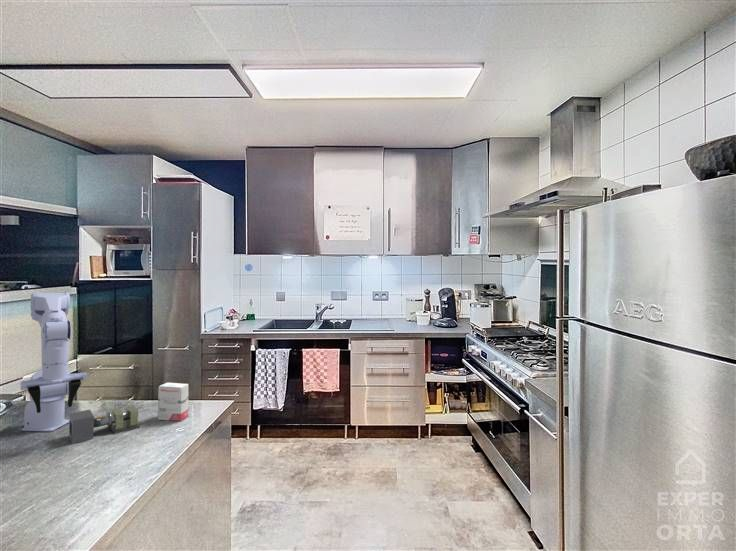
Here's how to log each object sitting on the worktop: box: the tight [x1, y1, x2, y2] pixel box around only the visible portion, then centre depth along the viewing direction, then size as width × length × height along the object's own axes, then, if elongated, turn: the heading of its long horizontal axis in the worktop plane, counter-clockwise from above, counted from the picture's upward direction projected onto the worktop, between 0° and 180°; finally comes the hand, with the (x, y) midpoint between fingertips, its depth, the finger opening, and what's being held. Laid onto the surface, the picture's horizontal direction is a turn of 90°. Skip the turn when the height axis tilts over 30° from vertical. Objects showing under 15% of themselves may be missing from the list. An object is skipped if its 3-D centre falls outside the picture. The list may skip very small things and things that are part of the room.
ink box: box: [157, 382, 189, 422], centre depth 125 cm, size 9×5×12 cm, turn 84°
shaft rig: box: [94, 404, 141, 435], centre depth 115 cm, size 13×8×6 cm, turn 136°
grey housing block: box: [68, 409, 95, 444], centre depth 109 cm, size 5×7×7 cm
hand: (54, 408), depth 105 cm, fingers open, 6 cm apart
